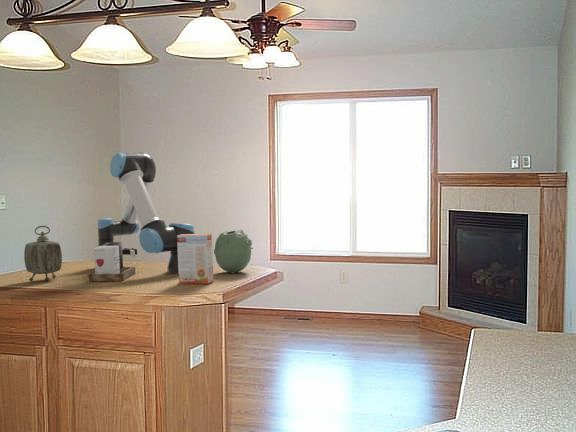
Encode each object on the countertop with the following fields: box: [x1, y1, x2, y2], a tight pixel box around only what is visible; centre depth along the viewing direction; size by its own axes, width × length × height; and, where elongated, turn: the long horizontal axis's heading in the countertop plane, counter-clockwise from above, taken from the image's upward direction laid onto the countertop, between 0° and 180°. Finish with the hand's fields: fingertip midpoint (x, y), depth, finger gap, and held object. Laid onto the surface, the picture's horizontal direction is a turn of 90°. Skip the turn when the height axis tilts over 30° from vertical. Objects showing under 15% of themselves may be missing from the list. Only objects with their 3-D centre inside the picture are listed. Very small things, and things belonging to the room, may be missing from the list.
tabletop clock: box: [23, 225, 63, 282], centre depth 306 cm, size 14×9×25 cm, turn 133°
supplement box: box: [93, 246, 120, 274], centre depth 304 cm, size 9×9×15 cm
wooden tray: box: [88, 241, 136, 282], centre depth 310 cm, size 15×23×15 cm, turn 178°
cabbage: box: [213, 229, 254, 274], centre depth 313 cm, size 16×19×20 cm
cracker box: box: [177, 233, 215, 285], centre depth 287 cm, size 14×6×21 cm, turn 70°
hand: (119, 254), depth 316 cm, fingers open, 13 cm apart
